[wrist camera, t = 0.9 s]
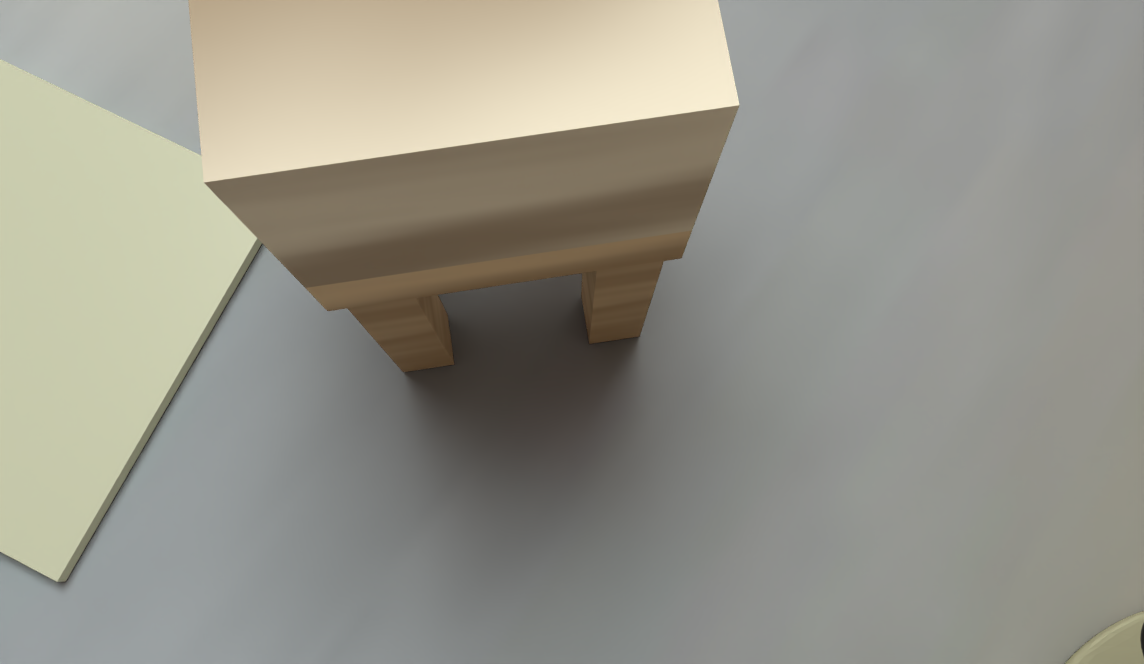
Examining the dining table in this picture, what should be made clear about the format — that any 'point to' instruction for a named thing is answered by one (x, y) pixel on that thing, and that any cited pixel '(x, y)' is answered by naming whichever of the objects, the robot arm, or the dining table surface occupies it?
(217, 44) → the stool
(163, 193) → the placemat
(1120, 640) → the can
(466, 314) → the dining table surface
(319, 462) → the dining table surface
